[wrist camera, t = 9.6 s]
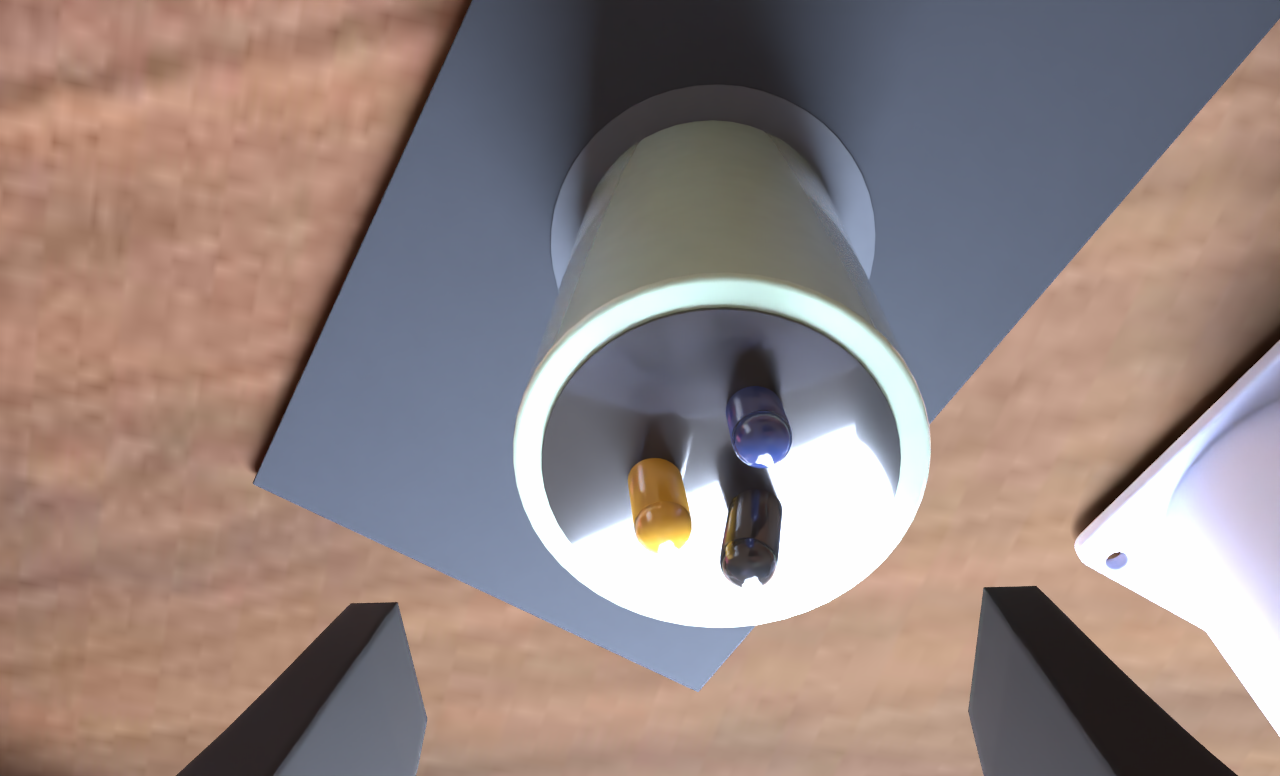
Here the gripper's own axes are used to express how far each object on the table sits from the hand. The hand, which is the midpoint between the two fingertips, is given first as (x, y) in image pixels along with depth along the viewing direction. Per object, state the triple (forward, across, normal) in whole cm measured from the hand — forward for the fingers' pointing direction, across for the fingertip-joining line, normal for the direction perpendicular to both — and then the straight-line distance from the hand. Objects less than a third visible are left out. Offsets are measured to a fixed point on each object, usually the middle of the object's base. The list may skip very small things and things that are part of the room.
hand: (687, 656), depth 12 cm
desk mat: (+10, 0, -2) cm, 10 cm away
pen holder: (+10, 0, -2) cm, 10 cm away
